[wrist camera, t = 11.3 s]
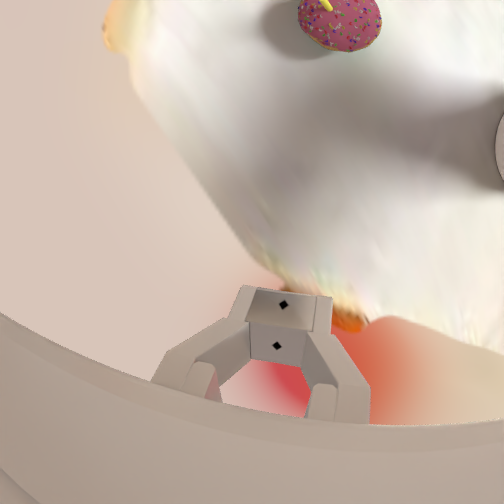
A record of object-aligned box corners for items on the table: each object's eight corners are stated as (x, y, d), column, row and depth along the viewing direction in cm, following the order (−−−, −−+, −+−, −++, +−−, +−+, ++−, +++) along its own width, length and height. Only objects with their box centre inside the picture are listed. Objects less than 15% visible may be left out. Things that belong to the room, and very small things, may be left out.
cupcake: (300, 49, 29) (287, 38, 19) (302, -12, 24) (290, -47, 14) (373, 60, 27) (395, 54, 18) (376, -2, 22) (396, -32, 13)
